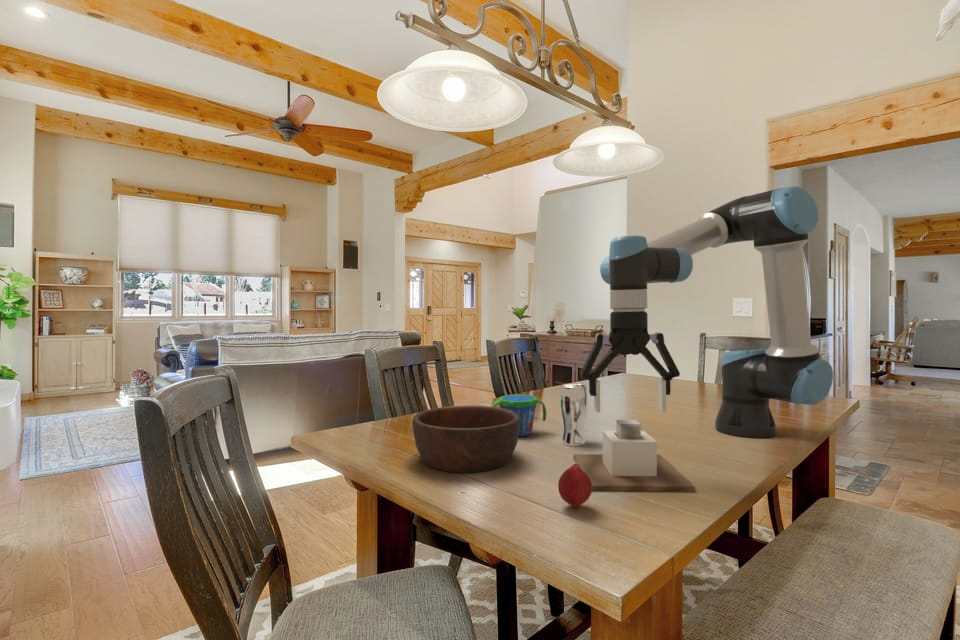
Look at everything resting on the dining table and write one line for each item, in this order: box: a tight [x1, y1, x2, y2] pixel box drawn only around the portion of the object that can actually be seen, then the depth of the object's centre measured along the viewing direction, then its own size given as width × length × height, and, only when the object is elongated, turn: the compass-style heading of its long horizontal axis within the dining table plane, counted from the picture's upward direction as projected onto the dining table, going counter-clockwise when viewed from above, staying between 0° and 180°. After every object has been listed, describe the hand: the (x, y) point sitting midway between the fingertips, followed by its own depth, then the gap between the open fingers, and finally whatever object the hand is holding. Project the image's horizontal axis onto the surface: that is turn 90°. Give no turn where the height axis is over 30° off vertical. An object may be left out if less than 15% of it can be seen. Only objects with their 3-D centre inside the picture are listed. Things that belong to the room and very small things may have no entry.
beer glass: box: [559, 383, 588, 447], centre depth 127 cm, size 7×7×15 cm
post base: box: [573, 419, 696, 493], centre depth 104 cm, size 20×20×11 cm
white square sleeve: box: [602, 430, 658, 476], centre depth 104 cm, size 9×9×7 cm
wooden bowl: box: [411, 405, 520, 473], centre depth 114 cm, size 25×25×10 cm
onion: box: [557, 461, 593, 509], centre depth 86 cm, size 6×6×8 cm
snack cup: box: [491, 394, 547, 437], centre depth 136 cm, size 16×10×10 cm
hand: (629, 410), depth 103 cm, fingers open, 13 cm apart
